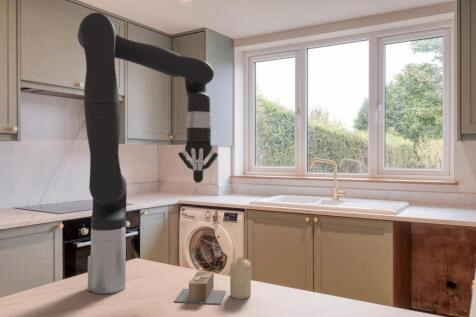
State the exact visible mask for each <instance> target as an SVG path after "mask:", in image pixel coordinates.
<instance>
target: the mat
mask: <svg viewBox="0 0 476 317" xmlns="http://www.w3.org/2000/svg"><path fill="white" fill-rule="evenodd" d="M226 292H227V291H226V290H220V289H219V290H218V289H217V290H216V289H213V290H212V291H211V293H210V295H209V297H208V299H207V300H206V301H189V288H182V290H181V291H180V292H179V293H178V295H177V297H175V299H174V301H173V303H181V304H182V303H185V304H201V305H202V304H203V305H219V306H220V305H221V304H222V301H223V299H224V296H225V294H226Z"/></svg>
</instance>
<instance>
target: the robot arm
mask: <svg viewBox="0 0 476 317" xmlns="http://www.w3.org/2000/svg"><path fill="white" fill-rule="evenodd" d="M77 40H78V43H79V45H80V46H81V47H82V48H83V49H84V54H85V56H84V57H85V64H86V68H85V77H84V78H85V79H84V90H83V108H84V109H83V110H84V119H85V127H86V128H85V129H86V134H87V135H86V136H87V143H88V148H89V157H90V158H89V160H90V162H89V183H88V185H89V186H88V187H89V190H88V191H89V193H90V195H91V197H92V212H91V216H90V217H91V218H90V255H88V257H87V291H88V292H93V293H94V294H101V295H104V294H105V295H107V294H114V293H117V292H118V293H119V292H121V291H123V290H125V289H126V281H127V280H126V276H127V275H126V273H127V269H126V265H127V264H126V261H127V259H126V258H127V257H126V255H127V254H126V252H127V251H126V248H127V247H126V244H127V243H126V237H127V236H126V230H127V228H126V221H127V190H128V189H127V181H126V178H125V177H124V176H123V174H122V171H121V163H120V156H119V149H120V148H119V146H120V138H121V137H120V136H121V107H120V105H121V104H120V97H119V89H118V88H119V86H118V80H117V73H116V66H115V65H116V63H115V61H116V59H120V60H123V61H125V62H126V61H127V62H130V63H134V64H136V65H140V66H143V67H145V68H147V69H148V68H149V69H150V70H154V71H156V72H159V73H161V74H164V75H167V76H170V77H173V78H174V77H175V78H178V77H181V78H183V79H184V84H185V90H186V91H185V92H186V96H187V116H186V143H185V144H186V145H185V147H184V150H182V151H180V152H178V156H179V158H180V160H182V162H183V163H184V165H185V166H186V167H187V168H188V169H191V170H192V172H193V178H192V179H193V181H194V182H195V184H197V183H199V184H200V183H202V181H203V180H204V171H205V170H206V169H209V168H211V166H212V164H214V162H215V161H216V159H217V158H218V157H219V153H218V152H216V151H215V150H213V146H212V144H211V142H212V138H211V136H212V118H211V98H210V96H209V95H208V94H207V90H206V85H207V84H209V83H210V82H211V81H212V80H213V78H214V75H215V73H214V69H213V67H212V65H210V63H208V62H207V61H205V60H203V59H200V58H196V57H191V56H186V55H181V54H179V53H177V52H174V51H173V50H169V49H167V48H165V47H161V46H158V45H154V44H150V43H146V42H145V43H144V42H139V41H134V40H131V39H127V38H125V37H123V36H120V35H118V34H117V33H116V28H115V26H114V23H113V22H112V20H111V19H110V18H109V17H108V16H106V15H105V14H104V13H101V12H92V13H89V14H87V15H86V16H85V17H83V19H82V20H81V22H80V24H79V27H78V30H77ZM188 156H189V158H190V159H191V161H190V159H189V158H188ZM208 157H210V158H209V159H208V160H207V162H206V159H207V158H208ZM205 162H206V163H205Z"/></svg>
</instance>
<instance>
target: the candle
mask: <svg viewBox="0 0 476 317" xmlns="http://www.w3.org/2000/svg"><path fill="white" fill-rule="evenodd" d="M251 264H252V263H251V262H250V261H249V260H248V259H247V258H246V257H245V256H241V257H240V256H239V257H237V258H236V257H235V258H233V260H232V261H231V262H230V270H229V271H230V272H229V273H230V276H229V277H230V280H229V281H230V287H229V288H230V289H229V290H230V292H229V293H230V294H229V295H230V297H232V298H234V299H239V300H243V299H248V298H250V297H251V292H252V284H251V283H252V272H251V271H252V265H251Z"/></svg>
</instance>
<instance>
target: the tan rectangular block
mask: <svg viewBox="0 0 476 317" xmlns="http://www.w3.org/2000/svg"><path fill="white" fill-rule="evenodd" d="M214 273H215V272H214V271H201V270H198V271H196V273H195V274H194V276H193V277H192V278H191V280H190V281H189V282H188V289H189V301H206V300H207V299H208V297H209V295H210V293H211V291H212V290H214V284H215V282H214V278H215V277H214V276H215V275H214Z"/></svg>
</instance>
